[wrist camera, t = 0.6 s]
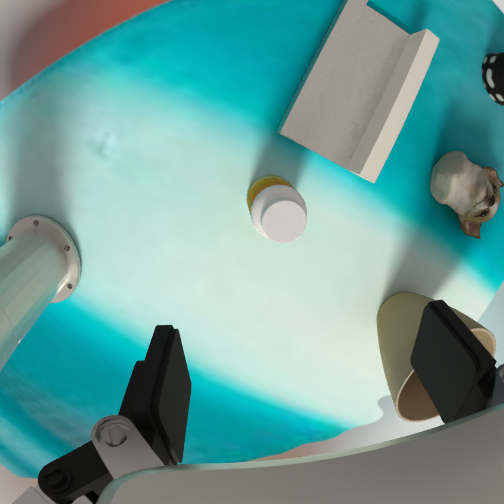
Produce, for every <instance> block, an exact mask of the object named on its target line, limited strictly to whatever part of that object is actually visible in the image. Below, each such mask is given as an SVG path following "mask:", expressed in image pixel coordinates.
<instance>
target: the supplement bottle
mask: <svg viewBox="0 0 504 504" xmlns="http://www.w3.org/2000/svg"><path fill="white" fill-rule="evenodd" d="M247 205H248V208H249V211H250V215H251V219H252V222H253V224H254V226H255V228H256V229H257V231H258V232H259V233H260V234H262V235H263V236H265V237H267V238H269V239H271V240H273V241H275V242H278V243H289V242H292V241H294V240H296V239H297V238H299V237H300V236H301V235H302V233H303V232H304V230H305V227H306V223H307V218H306V216H307V209H306V204H305V202H304V199H303V198H302V196H301V195H300V194H299V193H298V192H297V191H296V190H295V189H294V188H293V187H292V186H291V185H290V184H289V183H288V182H287V181H286V180H285V179H283V178H281V177H279V176H276V175H265V176H262V177H259V178H258V179H256V180H255V181H254V182H253V183H252V184H251V186H250V187H249V189H248V192H247Z"/></svg>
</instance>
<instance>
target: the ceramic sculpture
mask: <svg viewBox="0 0 504 504" xmlns="http://www.w3.org/2000/svg"><path fill="white" fill-rule="evenodd" d="M503 186H504V184H503V182H502V181H501V180H500V179H499V178H498V175H497V173H496V171H495V169H492V168H491V167H483V168H481V167H480V166H479V165H477V164H474V163H472V162H470V161H469V160H468V159H467V156H466V155H465V154H464V153H463V152H461V151H452V152H448V153H447V154H445V155H443V156H442V157H441V159H440V160H439V161H438V162H437V163H436V164H435V165H434V167H433V168H432V173H431V180H430V190H431V193H432V195H433V197H434V198H435V199H436V200H437V201H438V202H439V203H440V204H447V205H449V206H450V207H451V208H452V209H454V211H455V212H456V213H458V218H459V222H460V225H461V228H462V230H463V231H464V233H465V234H467V235H469V236H473V237H476V238H478V239H480V227H481V222H485V221H488V220H489V219H491V218H492V217H493V216H494V214H495V213H496V211H497V209H498V206H499V203H500V191H499V187H503Z"/></svg>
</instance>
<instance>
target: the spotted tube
mask: <svg viewBox="0 0 504 504" xmlns="http://www.w3.org/2000/svg"><path fill="white" fill-rule="evenodd" d="M482 76H483V81H484V85H485V87H486V90H487V92H488V94H489V95H490V97H491V98H492V99H493V100H494V101H495V102H496V103H498V104H500V105H504V52H503V53H493V54H489V55H487V56H486V57H485V59H484V61H483V65H482Z"/></svg>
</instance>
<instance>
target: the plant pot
mask: <svg viewBox="0 0 504 504" xmlns="http://www.w3.org/2000/svg"><path fill="white" fill-rule="evenodd" d="M430 301H436V300H433V299H431V298H428V297H425V296H422V295H418V294H414V293H411V292H399V293H396V294H394V295H392V296H391V297H389V298H388V299H387V300H386V301H385V302H384V303H383V304H382V306H381V307H380V309H379V311H378V314H377V331H378V340H379V347H380V353H381V358H382V363H383V368H384V372H385V376H386V380H387V383H388V386H389V390H390V393H391V396H392V399H393V402H394V405H395V408H396V412H397V414H398V415H399V417H400V418H402V419H403V420H405V421H409V422H421V421H426V420H429V419H432V418H435V417H437V416H440V415H439V413H438V411H437V410H436V408H435V406H434V404H433V402H432V401H431V399H430V397H429V395H428V393H427V392H426V390H425V388H424V386H423V385H422V383H421V381H420V379H419V378H418V376H417V374H416V372H415V371H414V369H413V367H412V366H411V362H410V358H411V354H412V351H413V347H414V344H415V340H416V337H417V333H418V329H419V325H420V322H421V318H422V314H423V310H424V307H425V306H427V304H428V302H430ZM449 307H450V306H449ZM450 308H451V309H452V310H453V311H454V313H455V314H456V315H457V316H458V317H459V318H460V319H461V320H462V321H463V323H464V324H465V325H466V326H467V327H468V328H469V329H470V330H471V332H472V333H473V334H474V335H475V336H476V337H477V339H478V340H479V341H480V342H481V343H482V344H483V346H484V347H485V348H486V349H487V350H488V352H489V353H490V354H491V355H492V356H493V358H494V355H495V350H496V341H495V338H494V335H493V334H492V333H491V332H490V331H489V330H488V329H486V328H485V327H483V326H482V325H480V324H479V323H477V322H476V321H474V320H473V319H471V318H470V317H468V316H466V315H465V314H463V313H461V312H459V311H458V310H456V309H454V308H452V307H450Z"/></svg>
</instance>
